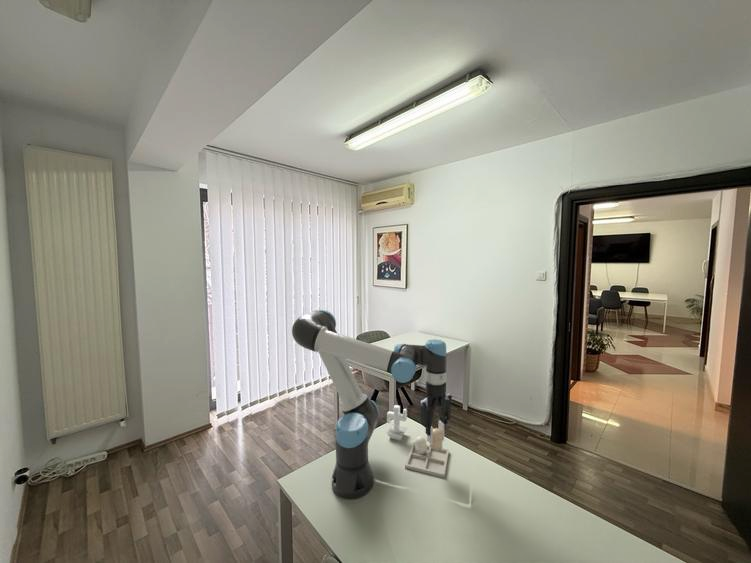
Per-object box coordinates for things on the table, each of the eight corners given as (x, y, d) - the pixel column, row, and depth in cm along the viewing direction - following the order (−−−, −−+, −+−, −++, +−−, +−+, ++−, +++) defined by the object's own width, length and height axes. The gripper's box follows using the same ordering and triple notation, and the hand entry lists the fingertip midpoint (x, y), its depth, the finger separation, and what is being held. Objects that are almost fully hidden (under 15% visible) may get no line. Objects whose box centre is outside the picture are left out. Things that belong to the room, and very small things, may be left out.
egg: (429, 448, 110) (429, 431, 110) (431, 441, 115) (431, 424, 114) (441, 451, 109) (441, 433, 108) (443, 444, 113) (443, 427, 113)
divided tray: (404, 469, 113) (404, 465, 113) (413, 446, 127) (413, 441, 127) (444, 479, 108) (444, 474, 108) (448, 454, 122) (448, 449, 122)
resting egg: (414, 454, 121) (414, 439, 120) (416, 447, 125) (416, 432, 124) (425, 457, 119) (425, 441, 118) (427, 450, 123) (427, 434, 123)
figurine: (390, 431, 138) (389, 400, 137) (409, 435, 135) (409, 404, 133) (384, 439, 132) (384, 407, 131) (404, 444, 128) (404, 412, 127)
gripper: (421, 390, 103) (421, 452, 105) (461, 380, 110) (460, 439, 112) (410, 382, 110) (410, 441, 112) (448, 373, 117) (447, 429, 119)
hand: (435, 440), depth 112 cm, fingers closed on egg, 4 cm apart
